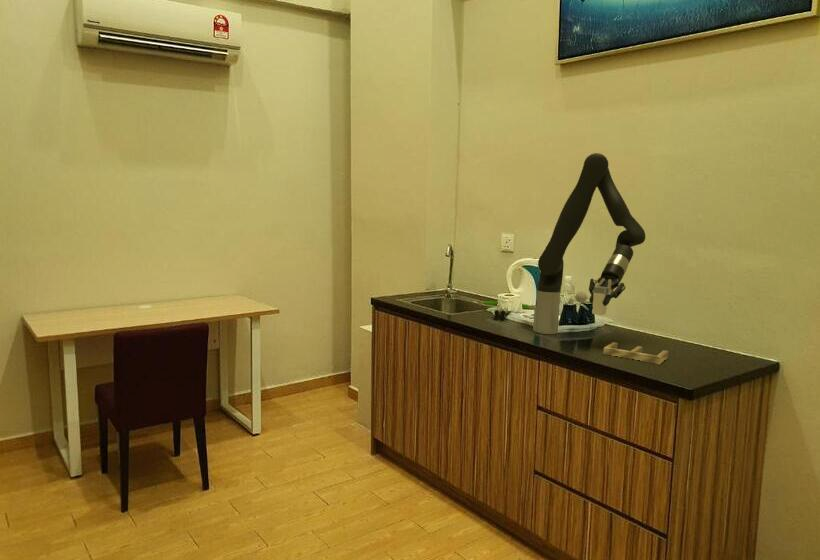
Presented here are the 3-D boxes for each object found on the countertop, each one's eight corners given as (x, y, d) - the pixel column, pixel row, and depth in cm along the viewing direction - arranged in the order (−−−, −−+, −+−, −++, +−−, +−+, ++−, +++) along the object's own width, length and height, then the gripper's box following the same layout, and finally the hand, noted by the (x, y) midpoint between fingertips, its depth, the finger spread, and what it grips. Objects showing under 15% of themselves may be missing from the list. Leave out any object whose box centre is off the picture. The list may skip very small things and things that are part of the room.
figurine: (531, 324, 281) (537, 312, 310) (532, 311, 280) (537, 299, 309) (467, 319, 288) (478, 306, 317) (468, 305, 287) (479, 294, 316)
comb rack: (603, 354, 231) (603, 347, 230) (612, 348, 240) (613, 342, 240) (659, 364, 220) (660, 357, 219) (667, 357, 229) (668, 351, 229)
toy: (590, 323, 285) (593, 290, 283) (593, 327, 278) (596, 292, 276) (564, 322, 286) (567, 289, 284) (566, 325, 279) (569, 291, 277)
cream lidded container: (592, 313, 238) (594, 287, 237) (595, 312, 242) (597, 286, 240) (602, 315, 236) (604, 288, 235) (606, 313, 239) (608, 287, 238)
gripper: (595, 260, 246) (577, 294, 239) (630, 264, 236) (612, 300, 230) (600, 273, 251) (583, 306, 244) (635, 277, 241) (618, 312, 234)
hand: (597, 303), depth 237 cm, fingers closed on cream lidded container, 4 cm apart
